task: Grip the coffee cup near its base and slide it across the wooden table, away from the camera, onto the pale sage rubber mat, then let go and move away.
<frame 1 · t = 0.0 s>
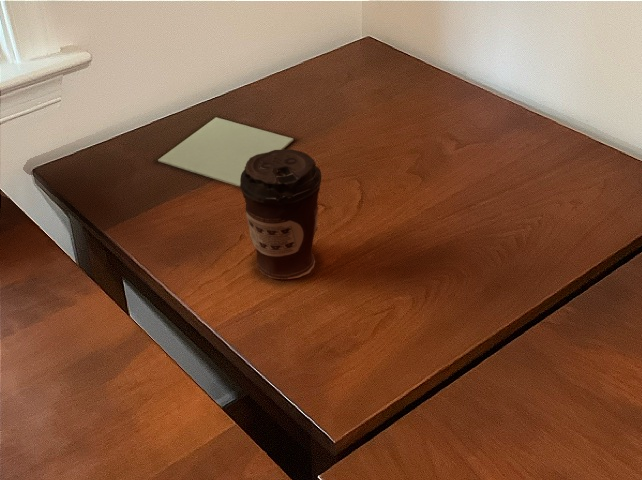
coffee cup: (286, 265, 91), on the table
mat: (227, 150, 110), on the table
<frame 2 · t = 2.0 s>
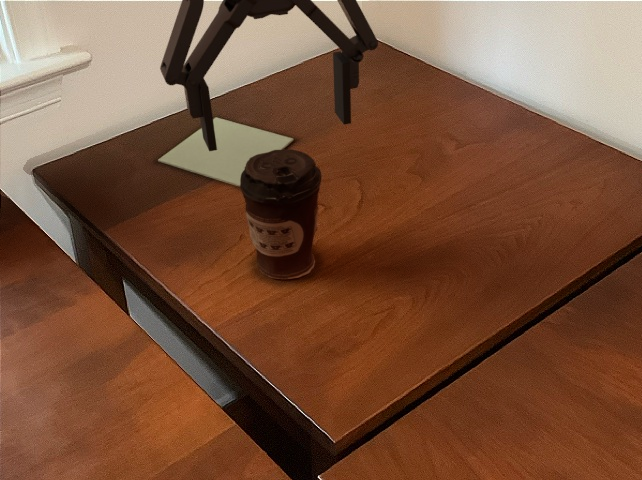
hand: (278, 131, 81), 17 cm above the table, tool pointing down, fingers open, 13 cm apart
nothing on the table moved.
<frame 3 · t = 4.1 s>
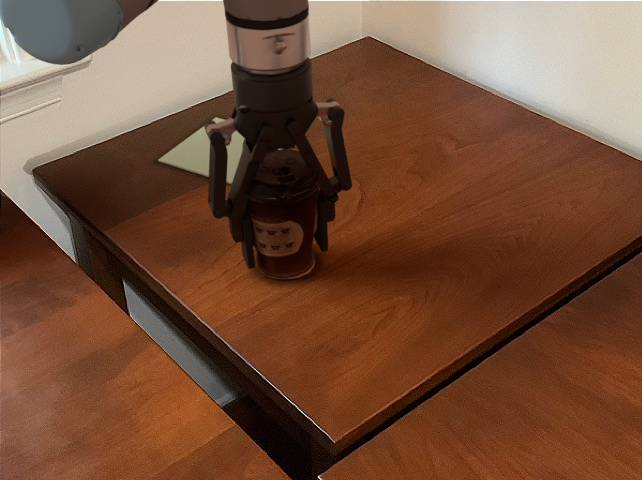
hand: (285, 252, 90), 2 cm above the table, tool pointing down, fingers closed on coffee cup, 8 cm apart
coffee cup: (286, 265, 91), on the table, touching gripper
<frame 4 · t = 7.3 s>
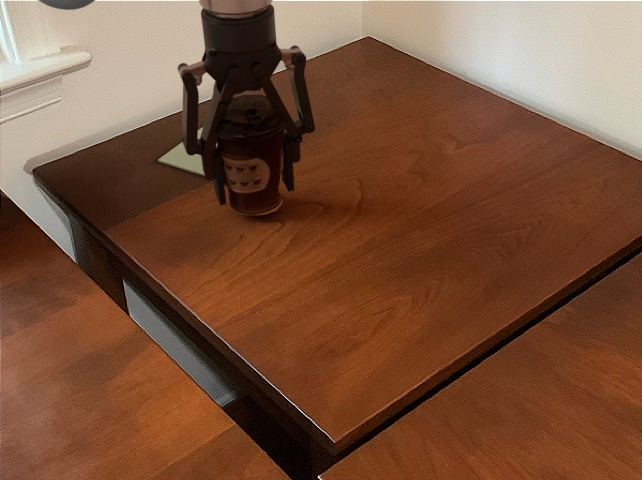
hand: (254, 191, 98), 3 cm above the table, tool pointing down, fingers closed on coffee cup, 8 cm apart
coffee cup: (256, 204, 99), point 1 cm above the table, touching gripper
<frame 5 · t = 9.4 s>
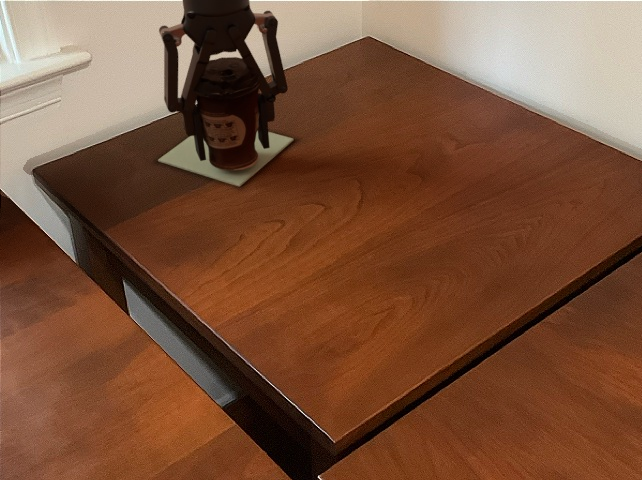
hand: (232, 149, 105), 3 cm above the table, tool pointing down, fingers closed on coffee cup, 8 cm apart
coffee cup: (234, 161, 107), point 1 cm above the table, touching gripper
when the fingers open (2 cm above the table, at t = 10.9 s): coffee cup stays where it is, resting on mat.
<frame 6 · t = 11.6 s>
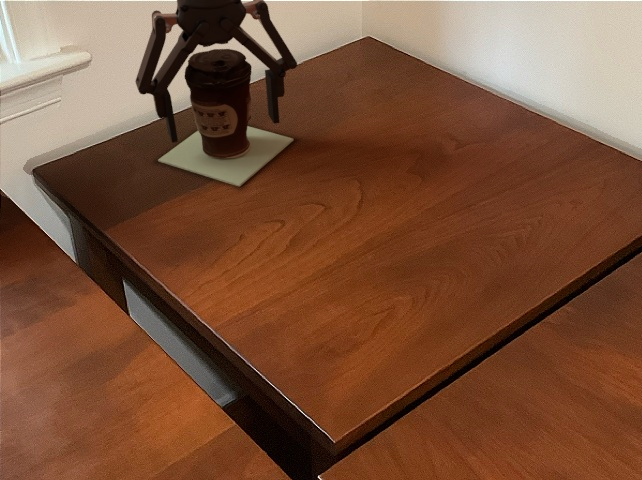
hand: (224, 128, 108), 3 cm above the table, tool pointing down, fingers open, 13 cm apart
coffee cup: (226, 150, 110), resting on mat
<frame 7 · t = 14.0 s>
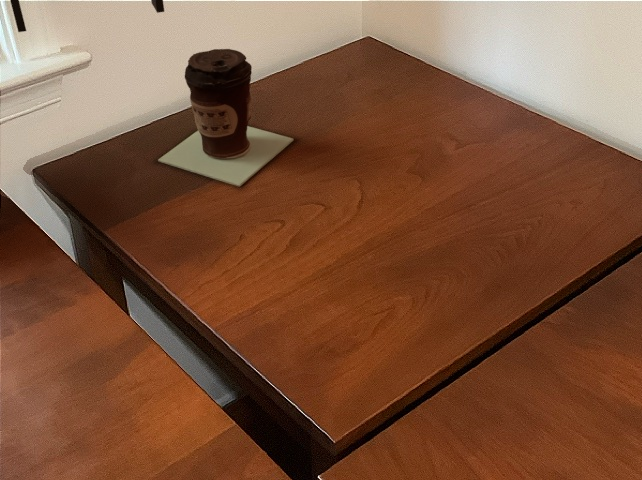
hand: (91, 17, 83), 25 cm above the table, tool pointing down, fingers open, 13 cm apart
nothing on the table moved.
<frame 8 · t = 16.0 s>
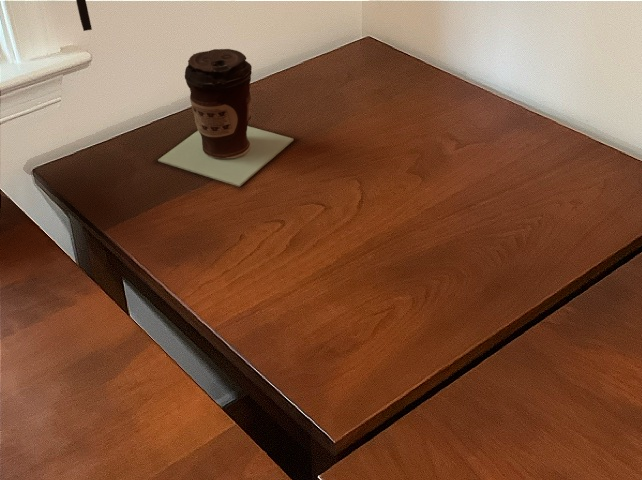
hand: (10, 36, 75), 27 cm above the table, tool pointing down, fingers open, 13 cm apart
nothing on the table moved.
at the end: coffee cup inside the target area on the mat (0.0 cm from its centre), point 0.1 cm above the mat's base; coffee cup tilted 0°; the gripper is holding nothing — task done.
